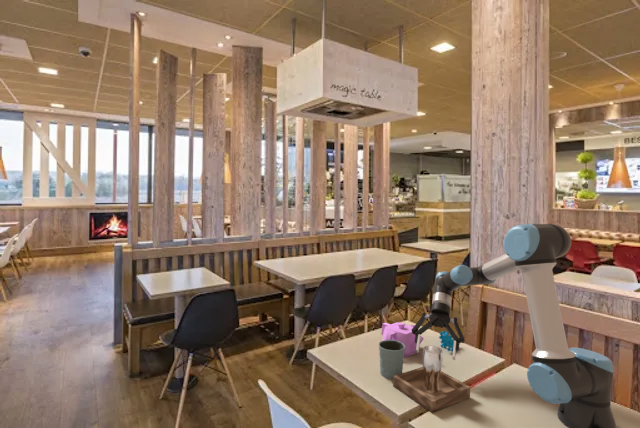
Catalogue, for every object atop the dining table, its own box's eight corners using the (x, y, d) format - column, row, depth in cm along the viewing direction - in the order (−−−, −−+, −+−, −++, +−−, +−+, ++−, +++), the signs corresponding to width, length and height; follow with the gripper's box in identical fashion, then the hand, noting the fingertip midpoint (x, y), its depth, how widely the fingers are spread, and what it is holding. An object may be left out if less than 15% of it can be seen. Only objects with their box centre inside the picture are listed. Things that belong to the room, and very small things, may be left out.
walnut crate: (469, 397, 131) (470, 387, 131) (432, 413, 122) (432, 401, 121) (429, 374, 148) (429, 364, 147) (393, 386, 138) (393, 376, 138)
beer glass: (428, 395, 130) (429, 354, 129) (417, 385, 137) (419, 346, 136) (445, 393, 132) (447, 352, 131) (434, 383, 139) (435, 344, 138)
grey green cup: (407, 372, 149) (408, 343, 148) (399, 383, 140) (400, 352, 140) (383, 365, 154) (384, 337, 153) (374, 376, 146) (374, 346, 145)
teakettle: (379, 341, 179) (380, 316, 178) (415, 342, 178) (416, 317, 178) (384, 357, 162) (385, 330, 161) (423, 359, 162) (425, 331, 161)
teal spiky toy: (447, 351, 165) (437, 330, 171) (439, 357, 169) (429, 336, 175) (463, 349, 171) (452, 329, 177) (454, 355, 175) (444, 335, 181)
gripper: (472, 314, 154) (469, 365, 141) (412, 305, 164) (404, 352, 151) (473, 305, 148) (469, 357, 136) (410, 297, 159) (401, 344, 146)
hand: (435, 354), depth 143 cm, fingers open, 13 cm apart
